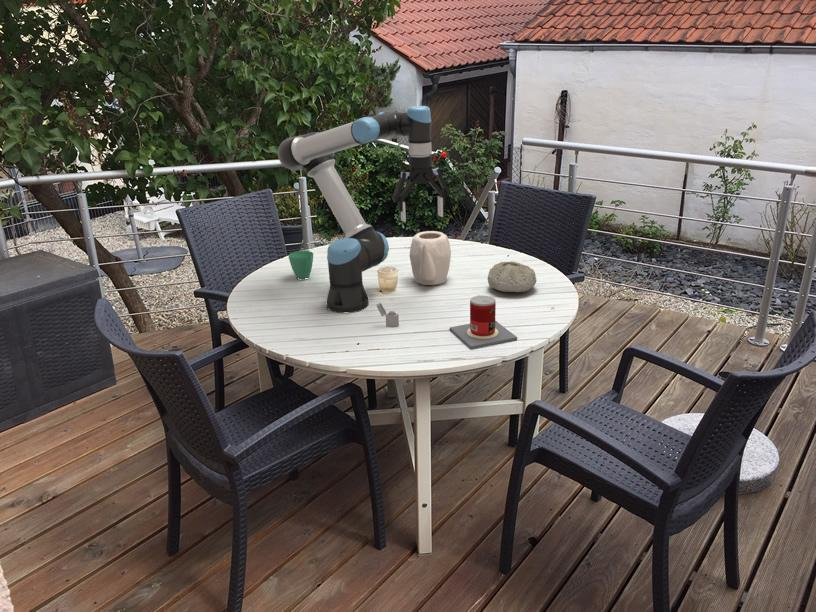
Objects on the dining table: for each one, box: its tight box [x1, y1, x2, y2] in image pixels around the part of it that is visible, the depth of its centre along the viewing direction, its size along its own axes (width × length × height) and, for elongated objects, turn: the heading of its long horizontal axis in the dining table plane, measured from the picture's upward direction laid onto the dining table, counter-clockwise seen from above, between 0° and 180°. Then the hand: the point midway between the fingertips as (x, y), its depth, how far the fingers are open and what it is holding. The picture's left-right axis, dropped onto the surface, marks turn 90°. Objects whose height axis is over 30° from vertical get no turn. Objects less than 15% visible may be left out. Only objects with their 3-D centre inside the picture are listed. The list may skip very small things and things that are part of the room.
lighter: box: [375, 302, 400, 328], centre depth 227 cm, size 7×2×8 cm, turn 77°
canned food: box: [469, 295, 496, 336], centre depth 216 cm, size 8×8×11 cm
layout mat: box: [449, 320, 518, 350], centre depth 218 cm, size 16×16×1 cm
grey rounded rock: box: [487, 260, 537, 293], centre depth 254 cm, size 18×18×10 cm
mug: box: [288, 248, 314, 279], centre depth 277 cm, size 15×10×10 cm
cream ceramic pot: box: [409, 230, 452, 286], centre depth 263 cm, size 16×27×19 cm, turn 169°
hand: (422, 218), depth 232 cm, fingers open, 13 cm apart
